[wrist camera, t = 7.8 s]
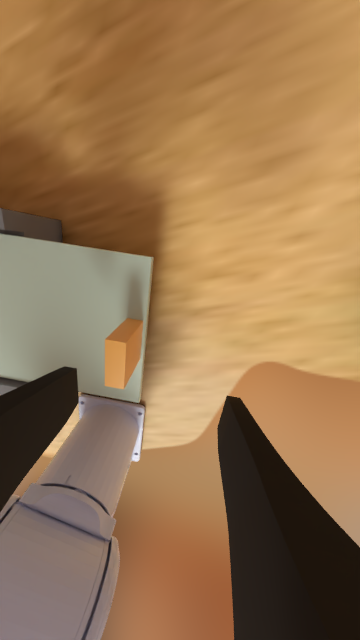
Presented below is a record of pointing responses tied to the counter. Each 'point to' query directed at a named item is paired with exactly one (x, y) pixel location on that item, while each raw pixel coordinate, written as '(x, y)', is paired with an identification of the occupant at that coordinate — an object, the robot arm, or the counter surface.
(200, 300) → the counter surface
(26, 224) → the parts tub
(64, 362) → the lid
